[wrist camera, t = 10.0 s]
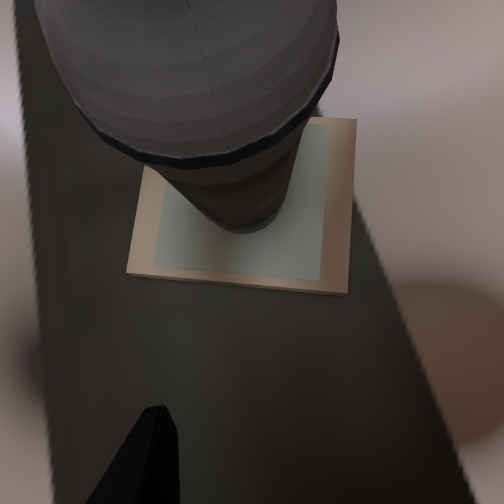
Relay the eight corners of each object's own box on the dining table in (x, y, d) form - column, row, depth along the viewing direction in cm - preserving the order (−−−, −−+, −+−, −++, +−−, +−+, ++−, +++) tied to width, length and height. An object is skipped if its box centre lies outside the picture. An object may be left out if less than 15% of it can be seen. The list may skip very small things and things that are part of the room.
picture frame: (352, 132, 23) (357, 118, 21) (342, 295, 21) (347, 293, 19) (161, 122, 24) (153, 108, 23) (136, 276, 22) (125, 272, 21)
